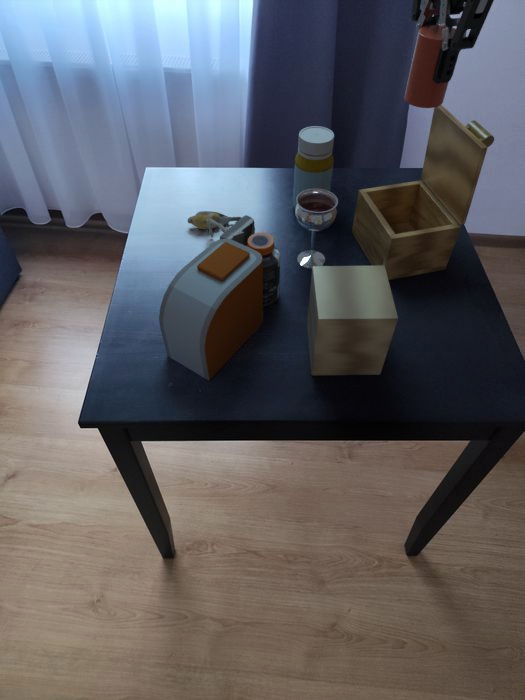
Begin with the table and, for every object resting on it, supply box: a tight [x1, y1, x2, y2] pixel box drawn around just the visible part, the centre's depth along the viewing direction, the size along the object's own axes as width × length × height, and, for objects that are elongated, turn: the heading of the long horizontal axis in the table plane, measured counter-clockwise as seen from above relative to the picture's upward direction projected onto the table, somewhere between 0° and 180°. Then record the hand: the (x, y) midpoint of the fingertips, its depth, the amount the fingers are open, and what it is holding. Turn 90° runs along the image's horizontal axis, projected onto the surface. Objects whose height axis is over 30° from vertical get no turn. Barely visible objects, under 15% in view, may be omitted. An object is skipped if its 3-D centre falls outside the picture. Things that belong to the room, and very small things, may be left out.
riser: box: [306, 265, 399, 376], centre depth 67 cm, size 10×10×12 cm
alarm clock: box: [158, 238, 264, 381], centre depth 68 cm, size 15×8×14 cm, turn 145°
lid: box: [420, 104, 495, 226], centre depth 75 cm, size 13×14×5 cm
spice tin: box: [403, 25, 456, 109], centre depth 62 cm, size 5×5×8 cm
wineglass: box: [294, 189, 339, 269], centre depth 80 cm, size 7×7×12 cm
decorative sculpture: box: [187, 210, 256, 246], centre depth 85 cm, size 16×10×7 cm, turn 31°
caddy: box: [351, 179, 462, 281], centre depth 83 cm, size 12×14×9 cm
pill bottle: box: [247, 232, 281, 307], centre depth 75 cm, size 6×6×11 cm
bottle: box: [292, 125, 335, 211], centre depth 89 cm, size 7×7×15 cm
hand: (430, 72), depth 62 cm, fingers closed on spice tin, 5 cm apart
